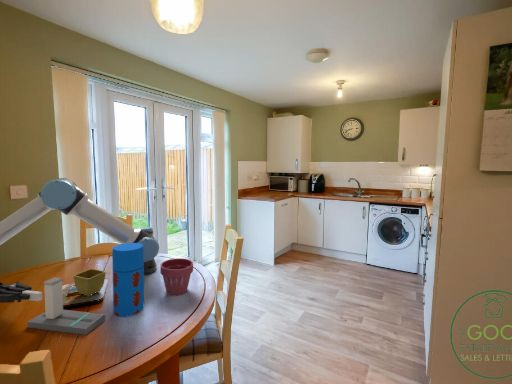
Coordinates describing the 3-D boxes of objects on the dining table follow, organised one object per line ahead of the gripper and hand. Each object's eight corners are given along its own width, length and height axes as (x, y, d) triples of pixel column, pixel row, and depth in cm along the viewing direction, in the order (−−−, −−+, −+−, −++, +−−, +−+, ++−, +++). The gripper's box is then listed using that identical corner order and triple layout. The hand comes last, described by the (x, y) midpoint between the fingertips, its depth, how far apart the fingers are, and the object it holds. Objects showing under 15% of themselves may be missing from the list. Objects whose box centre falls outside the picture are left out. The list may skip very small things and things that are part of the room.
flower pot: (106, 291, 119) (106, 271, 118) (88, 299, 111) (88, 278, 110) (91, 287, 122) (91, 268, 121) (73, 296, 114) (72, 275, 113)
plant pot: (196, 294, 118) (197, 266, 117) (163, 301, 111) (163, 271, 110) (188, 282, 131) (188, 256, 130) (157, 287, 124) (157, 260, 123)
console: (27, 327, 91) (27, 321, 91) (51, 313, 100) (51, 307, 100) (85, 334, 88) (85, 328, 88) (105, 319, 97) (104, 314, 97)
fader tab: (45, 318, 93) (43, 282, 92) (55, 312, 97) (54, 277, 96) (53, 319, 92) (51, 282, 91) (63, 312, 96) (62, 278, 95)
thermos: (123, 320, 97) (122, 252, 95) (107, 311, 103) (106, 247, 100) (149, 307, 106) (149, 245, 104) (133, 299, 112) (132, 241, 110)
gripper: (3, 292, 105) (56, 298, 101) (-38, 309, 92) (22, 316, 89) (2, 273, 104) (56, 278, 101) (-39, 287, 91) (21, 294, 88)
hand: (40, 296), depth 95 cm, fingers closed
